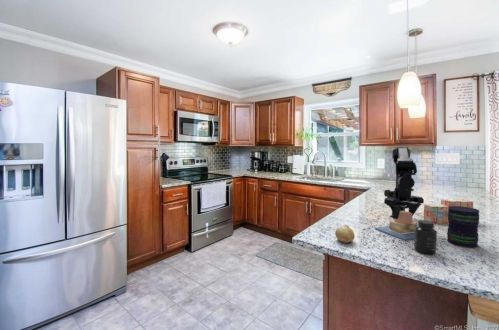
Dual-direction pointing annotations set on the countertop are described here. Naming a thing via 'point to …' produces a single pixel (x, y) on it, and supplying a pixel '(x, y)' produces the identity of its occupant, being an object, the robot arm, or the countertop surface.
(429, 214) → the stack of blocks
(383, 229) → the board
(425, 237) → the supplement bottle
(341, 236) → the onion
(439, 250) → the countertop surface
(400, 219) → the terracotta cube
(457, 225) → the storage jar
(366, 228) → the countertop surface
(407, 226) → the oak brick
